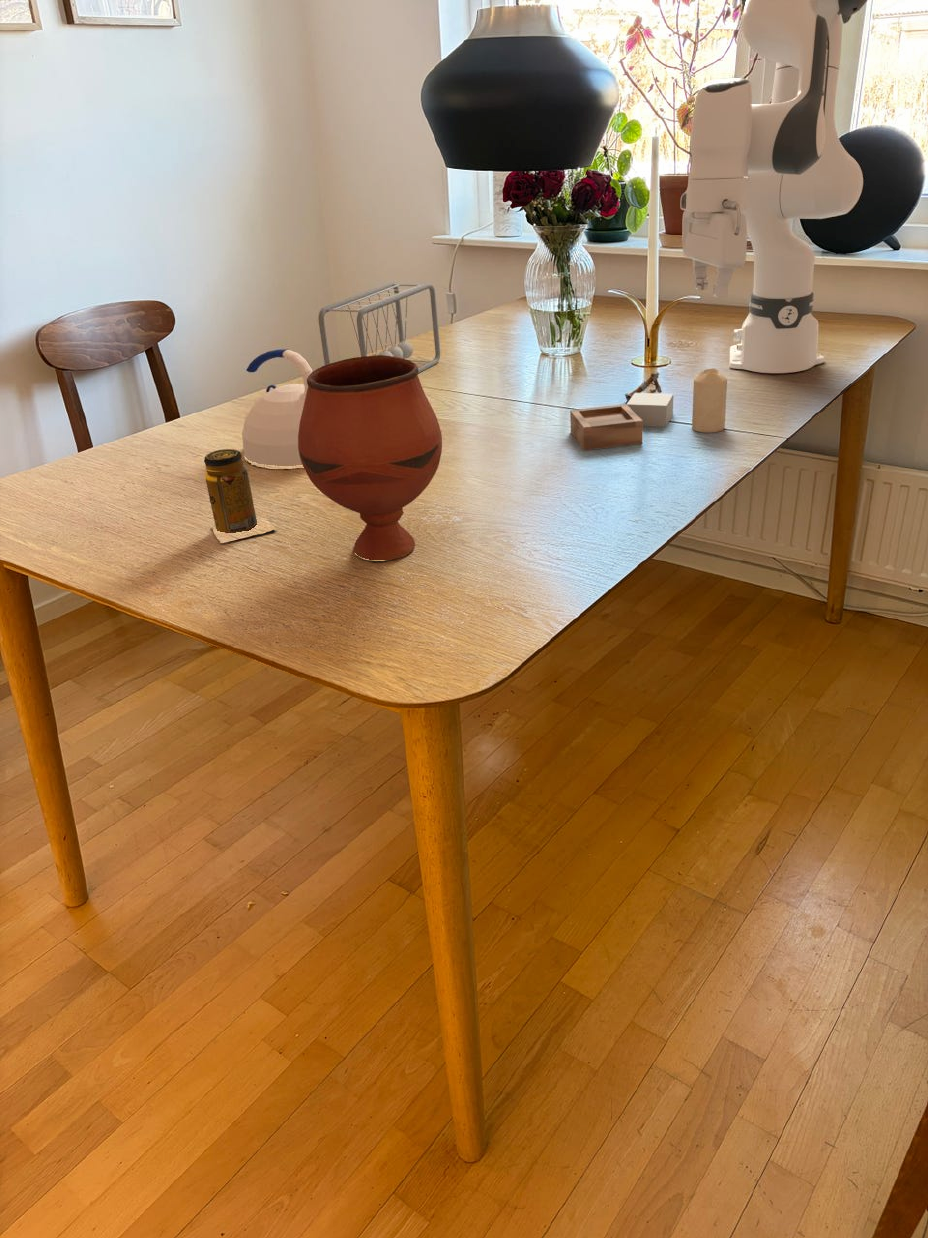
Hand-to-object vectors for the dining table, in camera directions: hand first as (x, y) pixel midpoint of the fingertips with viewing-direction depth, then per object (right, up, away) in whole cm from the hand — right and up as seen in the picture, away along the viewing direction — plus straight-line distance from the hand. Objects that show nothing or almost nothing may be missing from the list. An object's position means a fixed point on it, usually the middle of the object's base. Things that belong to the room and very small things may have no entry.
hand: (710, 293), depth 156 cm
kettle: (-68, -22, +20) cm, 75 cm away
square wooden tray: (-15, -21, +13) cm, 29 cm away
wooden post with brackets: (-5, -10, +32) cm, 34 cm away
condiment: (-72, -39, -11) cm, 82 cm away
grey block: (-6, -16, +20) cm, 27 cm away
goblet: (-50, -42, -20) cm, 69 cm away
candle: (+3, -19, +14) cm, 24 cm away
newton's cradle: (-56, +1, +58) cm, 81 cm away
